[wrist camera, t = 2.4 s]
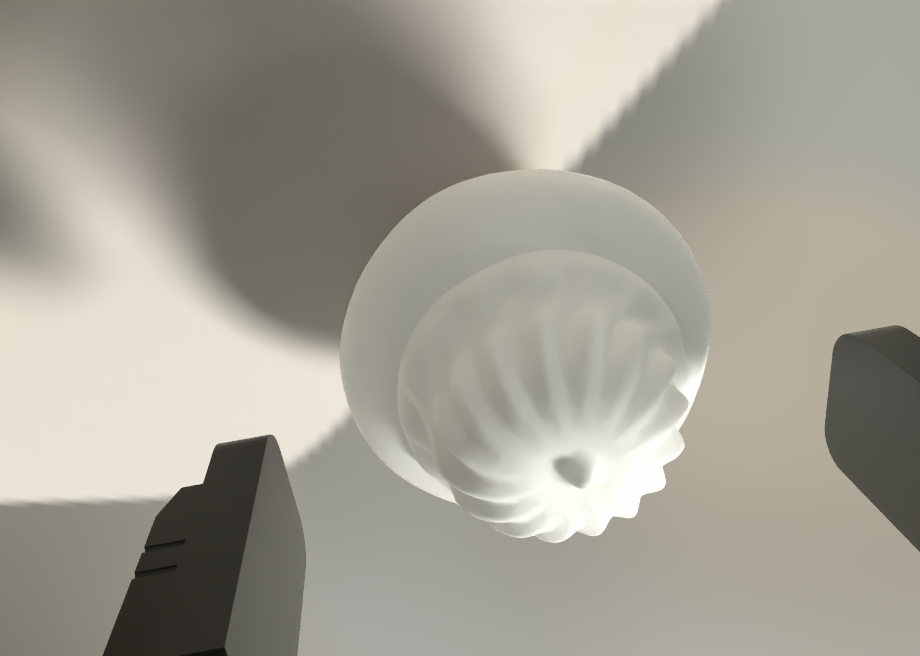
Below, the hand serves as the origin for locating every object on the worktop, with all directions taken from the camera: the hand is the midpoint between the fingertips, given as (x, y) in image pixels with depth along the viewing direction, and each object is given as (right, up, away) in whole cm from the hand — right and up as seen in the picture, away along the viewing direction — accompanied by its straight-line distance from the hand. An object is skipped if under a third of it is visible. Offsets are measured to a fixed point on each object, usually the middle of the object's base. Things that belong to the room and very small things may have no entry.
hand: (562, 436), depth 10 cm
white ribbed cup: (-1, +3, +5) cm, 6 cm away
